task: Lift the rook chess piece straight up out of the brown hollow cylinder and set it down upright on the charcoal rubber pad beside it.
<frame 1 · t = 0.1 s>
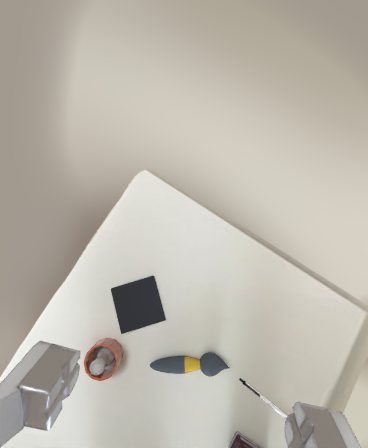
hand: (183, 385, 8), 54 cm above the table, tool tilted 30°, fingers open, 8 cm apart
brown hollow cylinder: (107, 354, 59), on the table
pen: (269, 402, 57), on the table
rook chess piece: (107, 354, 59), resting in brown hollow cylinder
paintbrush: (189, 362, 59), on the table
pad: (138, 303, 61), on the table
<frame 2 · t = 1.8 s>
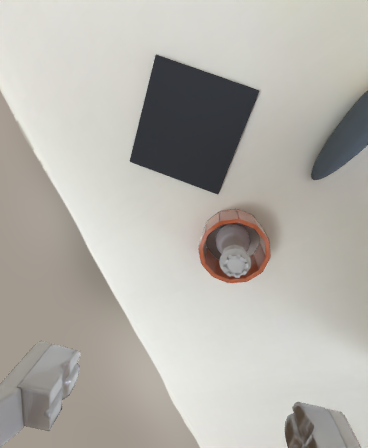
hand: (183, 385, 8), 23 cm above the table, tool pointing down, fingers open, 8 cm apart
brown hollow cylinder: (232, 238, 30), on the table
rook chess piece: (231, 237, 30), resting in brown hollow cylinder
pad: (189, 129, 27), on the table
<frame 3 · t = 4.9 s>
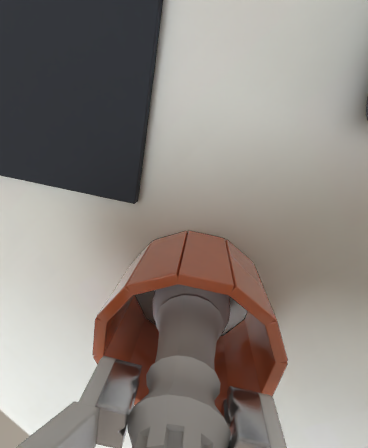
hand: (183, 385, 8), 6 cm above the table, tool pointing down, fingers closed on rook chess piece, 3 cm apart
brown hollow cylinder: (192, 293, 14), on the table
rook chess piece: (192, 291, 14), resting in brown hollow cylinder, touching gripper
pad: (27, 49, 10), on the table
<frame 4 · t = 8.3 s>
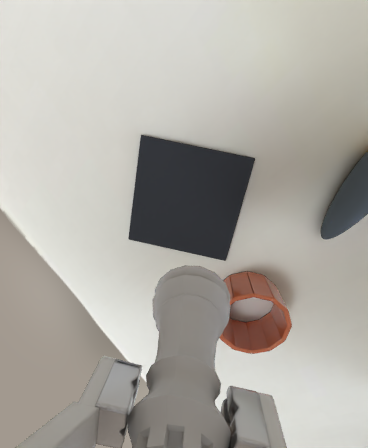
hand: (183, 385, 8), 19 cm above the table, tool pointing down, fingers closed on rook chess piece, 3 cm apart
brown hollow cylinder: (246, 299, 29), on the table
rook chess piece: (192, 291, 14), point 13 cm above the table, touching gripper
pad: (186, 201, 26), on the table
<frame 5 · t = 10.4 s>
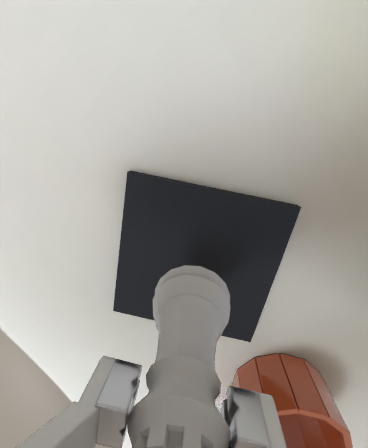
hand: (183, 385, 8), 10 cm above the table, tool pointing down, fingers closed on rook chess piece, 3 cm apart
brown hollow cylinder: (276, 387, 21), on the table
rook chess piece: (192, 291, 14), point 4 cm above the table, touching gripper
pad: (195, 262, 18), on the table
when the fingers open (6 cm above the table, at t = 11.7 s): rook chess piece stays where it is, resting on pad.
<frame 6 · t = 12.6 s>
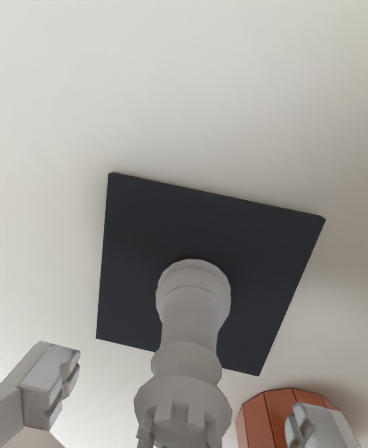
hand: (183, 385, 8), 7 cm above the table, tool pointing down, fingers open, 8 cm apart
brown hollow cylinder: (287, 424, 18), on the table
rook chess piece: (194, 285, 14), resting on pad
pad: (193, 282, 15), on the table
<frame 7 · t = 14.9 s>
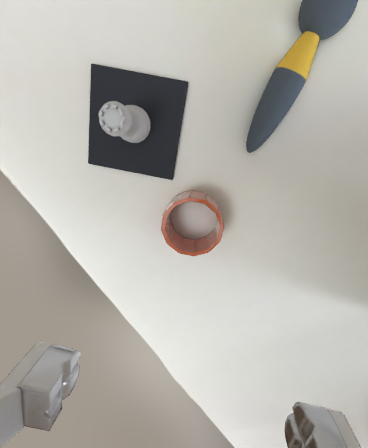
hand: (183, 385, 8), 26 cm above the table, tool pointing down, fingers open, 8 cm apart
brown hollow cylinder: (193, 217, 33), on the table
rook chess piece: (135, 125, 29), resting on pad
paintbrush: (291, 73, 27), on the table
pad: (135, 126, 30), on the table
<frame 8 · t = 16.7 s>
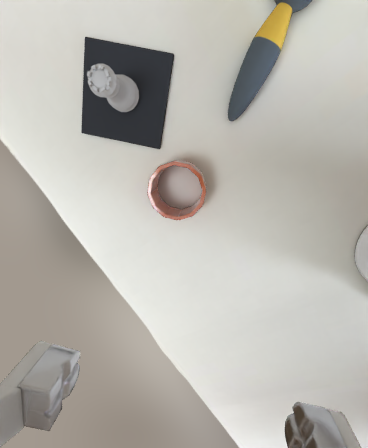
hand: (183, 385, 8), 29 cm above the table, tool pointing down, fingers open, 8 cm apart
brown hollow cylinder: (179, 186, 35), on the table
rook chess piece: (125, 95, 32), resting on pad
paintbrush: (269, 45, 29), on the table
pad: (125, 96, 32), on the table
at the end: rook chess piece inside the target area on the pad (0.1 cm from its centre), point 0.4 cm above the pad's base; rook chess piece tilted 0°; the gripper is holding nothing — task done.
